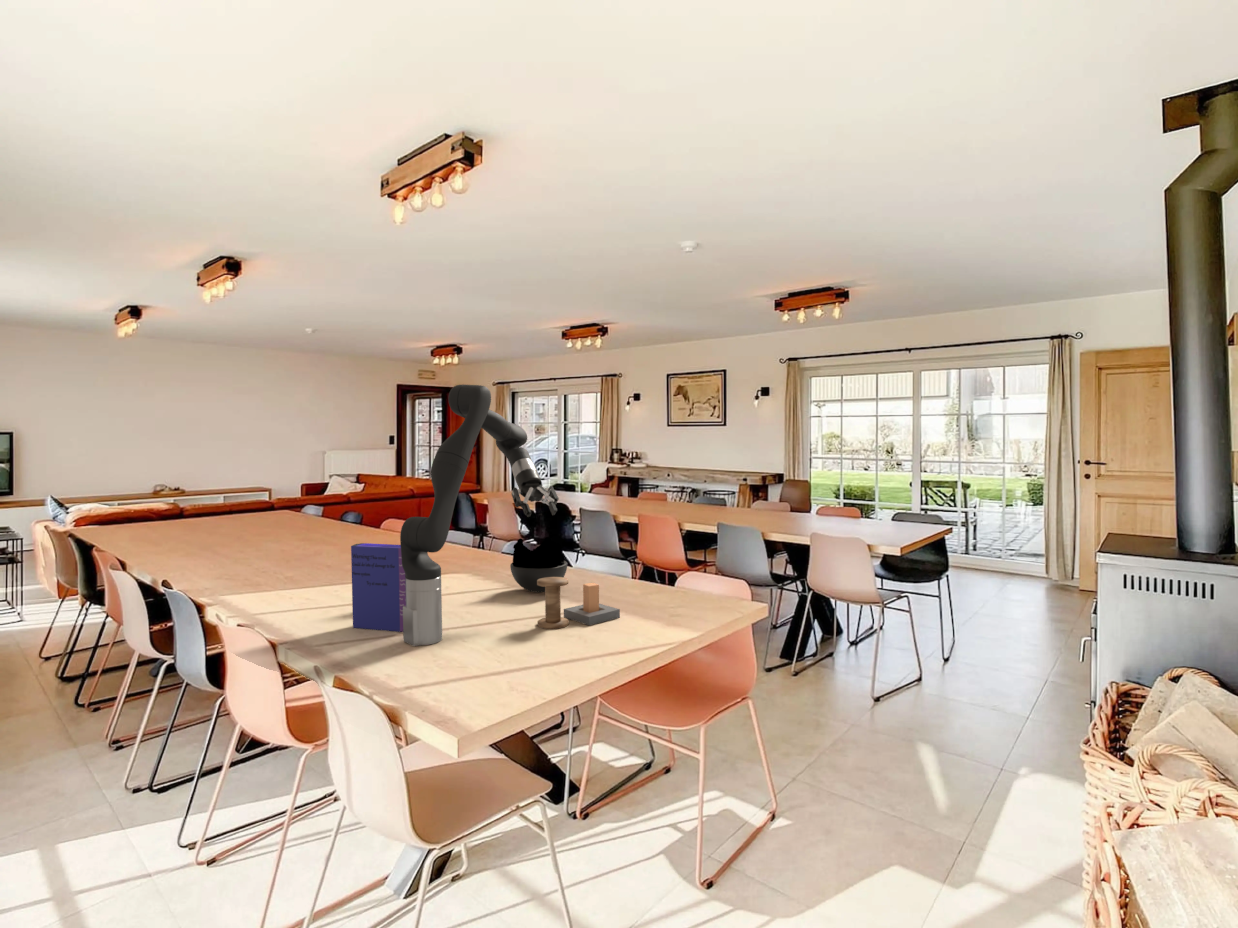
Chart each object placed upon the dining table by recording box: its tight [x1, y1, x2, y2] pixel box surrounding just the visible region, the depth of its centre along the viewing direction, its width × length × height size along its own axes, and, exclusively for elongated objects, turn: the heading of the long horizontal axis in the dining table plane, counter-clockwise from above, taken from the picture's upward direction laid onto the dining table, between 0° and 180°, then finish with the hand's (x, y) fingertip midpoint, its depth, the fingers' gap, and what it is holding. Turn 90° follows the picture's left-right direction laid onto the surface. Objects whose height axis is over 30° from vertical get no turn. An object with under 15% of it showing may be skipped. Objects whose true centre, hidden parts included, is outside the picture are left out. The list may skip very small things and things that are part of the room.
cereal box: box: [350, 542, 406, 633], centre depth 185 cm, size 17×5×24 cm, turn 74°
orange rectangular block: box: [582, 582, 600, 613], centre depth 195 cm, size 4×4×10 cm
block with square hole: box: [563, 603, 621, 626], centre depth 195 cm, size 12×12×2 cm
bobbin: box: [537, 577, 570, 630], centre depth 188 cm, size 9×9×13 cm
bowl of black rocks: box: [509, 537, 568, 593], centre depth 228 cm, size 20×20×19 cm
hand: (542, 514), depth 200 cm, fingers open, 8 cm apart
